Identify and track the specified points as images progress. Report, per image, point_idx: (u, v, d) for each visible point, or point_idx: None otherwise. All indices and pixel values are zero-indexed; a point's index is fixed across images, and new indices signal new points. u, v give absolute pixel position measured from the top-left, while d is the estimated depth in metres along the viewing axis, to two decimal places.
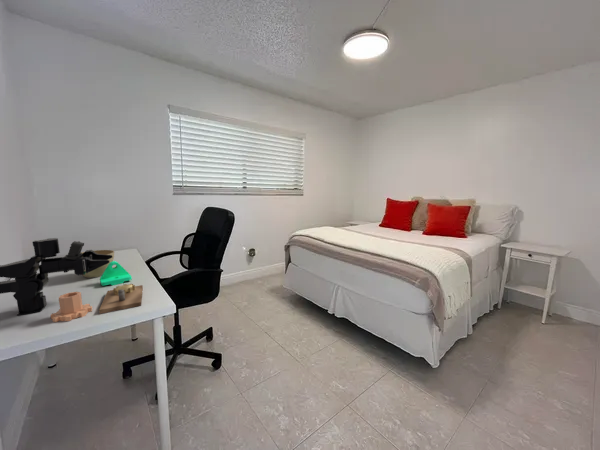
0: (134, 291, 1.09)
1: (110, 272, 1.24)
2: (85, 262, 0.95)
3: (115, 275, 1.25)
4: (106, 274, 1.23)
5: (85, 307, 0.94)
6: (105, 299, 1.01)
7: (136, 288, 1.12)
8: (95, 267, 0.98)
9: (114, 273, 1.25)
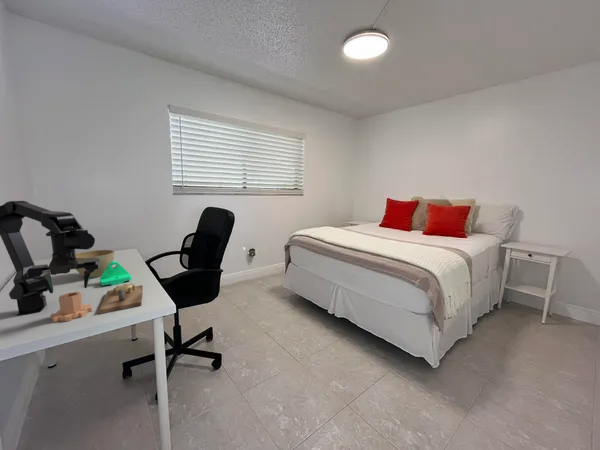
0: (134, 291, 1.09)
1: (110, 272, 1.24)
2: None
3: (115, 275, 1.25)
4: (106, 274, 1.23)
5: (85, 307, 0.94)
6: (105, 299, 1.01)
7: (136, 288, 1.12)
8: None
9: (114, 273, 1.25)
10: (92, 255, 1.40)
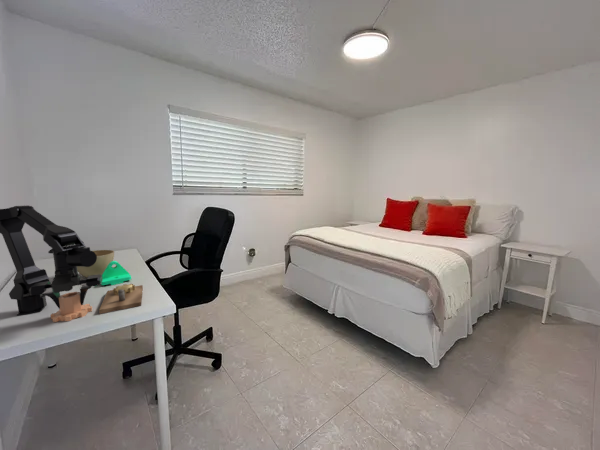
0: (134, 291, 1.09)
1: (110, 272, 1.24)
2: None
3: (115, 275, 1.26)
4: (106, 274, 1.23)
5: (85, 307, 0.94)
6: (105, 299, 1.01)
7: (136, 288, 1.12)
8: None
9: (114, 273, 1.25)
10: None
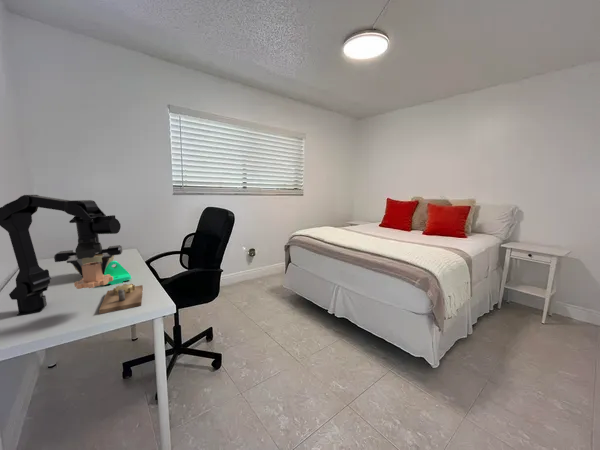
0: (134, 291, 1.09)
1: (110, 271, 1.24)
2: None
3: (115, 275, 1.26)
4: (106, 274, 1.24)
5: (106, 277, 0.96)
6: (105, 299, 1.01)
7: (136, 288, 1.12)
8: None
9: (114, 272, 1.26)
10: None
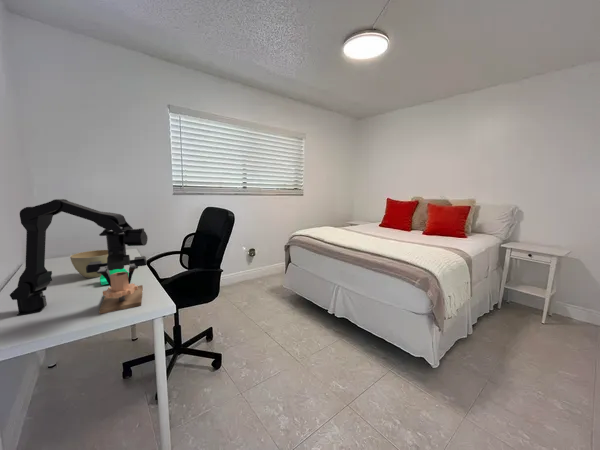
0: (134, 291, 1.09)
1: (110, 271, 1.25)
2: (97, 272, 0.94)
3: None
4: None
5: (132, 286, 1.01)
6: (105, 299, 1.01)
7: None
8: None
9: (114, 272, 1.26)
10: (92, 255, 1.40)
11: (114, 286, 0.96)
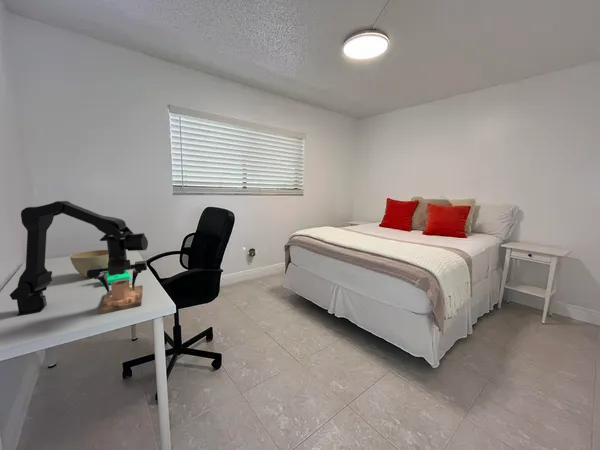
0: None
1: None
2: None
3: None
4: (106, 274, 1.24)
5: (132, 294, 1.02)
6: None
7: (136, 288, 1.12)
8: None
9: None
10: (92, 255, 1.40)
11: (115, 295, 0.96)
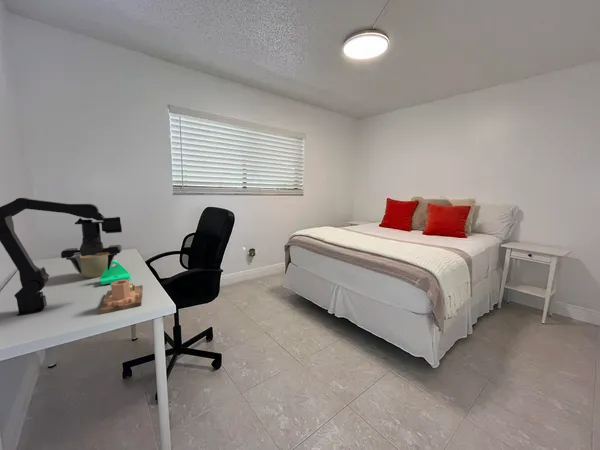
0: None
1: (110, 271, 1.25)
2: None
3: (115, 274, 1.27)
4: (106, 273, 1.24)
5: (132, 294, 1.02)
6: None
7: (136, 288, 1.12)
8: None
9: (114, 272, 1.26)
10: (92, 255, 1.40)
11: (115, 295, 0.96)
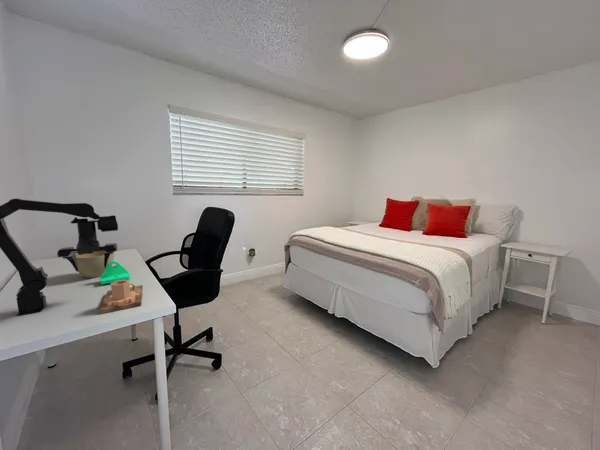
0: None
1: (110, 271, 1.25)
2: None
3: (115, 274, 1.27)
4: (106, 273, 1.24)
5: (132, 294, 1.02)
6: None
7: (136, 288, 1.12)
8: None
9: (114, 272, 1.27)
10: (92, 255, 1.40)
11: (115, 295, 0.96)
